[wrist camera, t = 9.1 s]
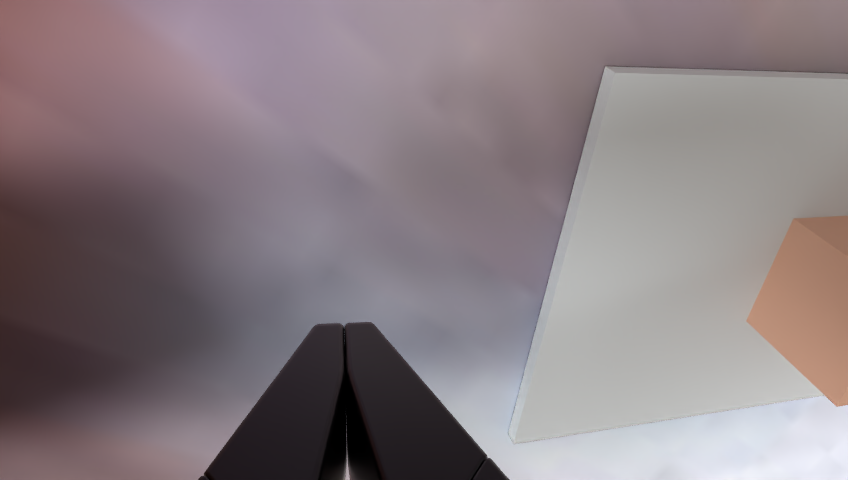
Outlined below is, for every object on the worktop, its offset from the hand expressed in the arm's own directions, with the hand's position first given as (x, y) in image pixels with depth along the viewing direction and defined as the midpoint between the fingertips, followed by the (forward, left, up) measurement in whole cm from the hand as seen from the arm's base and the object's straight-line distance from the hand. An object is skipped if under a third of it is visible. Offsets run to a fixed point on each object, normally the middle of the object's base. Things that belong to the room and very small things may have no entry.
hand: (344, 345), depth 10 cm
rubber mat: (+15, -18, -11) cm, 26 cm away
